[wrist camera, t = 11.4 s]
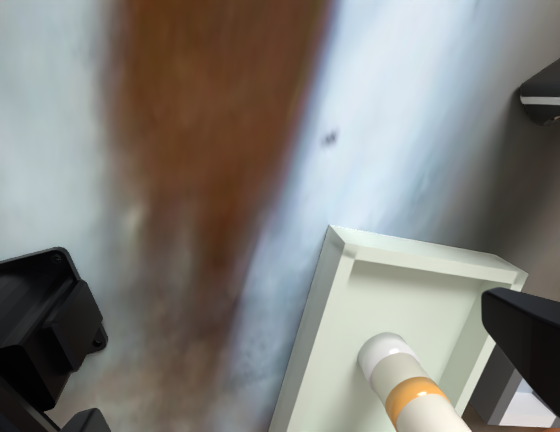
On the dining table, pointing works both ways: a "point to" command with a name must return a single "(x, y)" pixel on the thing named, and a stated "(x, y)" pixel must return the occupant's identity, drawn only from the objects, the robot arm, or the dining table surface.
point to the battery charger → (543, 95)
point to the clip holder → (509, 397)
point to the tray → (386, 326)
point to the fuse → (406, 387)
